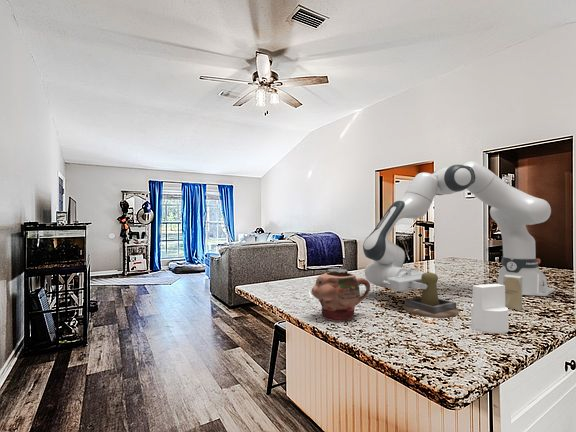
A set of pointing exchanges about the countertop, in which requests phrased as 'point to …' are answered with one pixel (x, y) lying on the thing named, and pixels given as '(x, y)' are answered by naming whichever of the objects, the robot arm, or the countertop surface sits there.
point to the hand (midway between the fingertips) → (432, 285)
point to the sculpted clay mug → (339, 294)
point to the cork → (430, 289)
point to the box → (513, 291)
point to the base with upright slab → (489, 309)
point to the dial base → (431, 308)
